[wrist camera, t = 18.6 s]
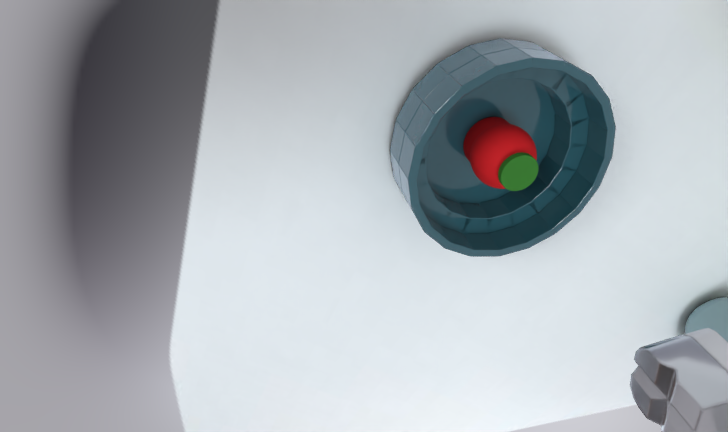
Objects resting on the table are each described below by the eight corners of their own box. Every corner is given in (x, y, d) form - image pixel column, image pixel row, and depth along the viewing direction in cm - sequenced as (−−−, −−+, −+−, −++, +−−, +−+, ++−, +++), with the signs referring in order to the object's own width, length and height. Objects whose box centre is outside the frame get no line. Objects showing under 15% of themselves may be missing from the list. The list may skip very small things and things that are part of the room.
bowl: (400, 238, 43) (419, 277, 39) (375, 62, 35) (397, 89, 31) (567, 194, 44) (603, 228, 40) (581, 16, 36) (627, 35, 32)
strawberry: (460, 174, 40) (488, 210, 36) (457, 120, 38) (487, 151, 33) (516, 160, 41) (550, 194, 36) (516, 106, 38) (553, 135, 34)
